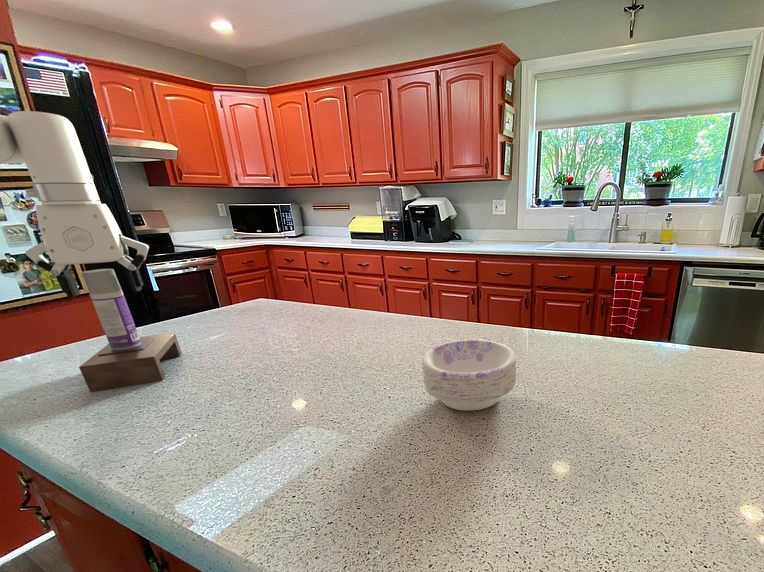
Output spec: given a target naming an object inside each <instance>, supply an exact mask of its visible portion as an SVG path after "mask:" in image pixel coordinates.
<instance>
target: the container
mask: <svg viewBox="0 0 764 572" xmlns="http://www.w3.org/2000/svg"><path fill="white" fill-rule="evenodd" d="M81 275H82V277H83V280H84V282H85V283H84V284H85V285H86V288H87V292H88V294H89V296H90V299H91V302H92V305H93V307H94V310H95V312H96V314H97V316H98V317H97V318H98V319H99V321H100V324H101V327H102V329H103V332H104V334H105V336H106V339H107V342H108V344H110V347H111V349H112V350H125V349H130V348H134V347H137V346H139V345H141V341H140V338H139V337H140V335H139V332H138V330H137V327H136V324H135V321H134V319H133V316H132V314H131V311H130V308H129V306H128V302H127V300H126V297H125V295H124V292H123V289H122V287H121V284H120V282H119V280H118V277H117V275H116V272H115V269H114V268H100V269H99V268H97V269H90V270H84V271H82V272H81Z"/></svg>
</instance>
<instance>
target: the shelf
mask: <svg viewBox="0 0 764 572" xmlns="http://www.w3.org/2000/svg"><path fill="white" fill-rule="evenodd" d="M139 338H140V341H141V345H139V346H137V347H134V348H130V349H125V350H112V349H111V347H110V344H109V343H107V345H105V346H104V347H103V348H101V349H100V350H99V351H98V352H96V353H95V354H94V355H92V356H91V357H90V358H89V359H87V360H86V361H84V362H83V363H82V364H80V366H78V369H79V371H80V374H81V375H82V378H83V380H84V382H85V384H86V386H87V389H88V391H89V392H90V393H93V392H98V391H99V392H100V391H105V390H111V389H118V388H125V387H130V386H136V385H143V384H149V383H156V382H161V381H164V379H165V378H166V375H165V372H164V369H163V366H162V363H161V360H165V359H171V358H178V357H181V356H182V354H183V353H182V350H181V347H180V344H179V341H178V337H177V334H176V332H170V333H161V334H153V335H147V336H146V335H145V336H139Z"/></svg>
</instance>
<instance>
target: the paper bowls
mask: <svg viewBox="0 0 764 572" xmlns="http://www.w3.org/2000/svg"><path fill="white" fill-rule="evenodd" d="M421 364H422V376H423V386H424V389H425V391H426V392H427V393H428V395H429V396H431V397H433V398H435V399H437V400H439V401H440V402H441V403H442V404H443V405H445V406H447V407H448V408H451V409H452V410H457V411H464V412H465V411H467V412H470V411H471V412H472V411H473V412H474V411H480V410H485V409H488V408H489V407H492V406H493V405H495V404H496V403H498V402H499V400H501V398H502V397H503V396H505V395H507V394H509V393H510V392H511V391H513V389H514V388H515V385H516V381H517V356H516V353H515V351H514V350H513V349H512V348H511V347H509V346H507V345H505V344H503V343H500V342H498V341H497V342H496V341H492V340H485V339H460V340H453V341H448V342H443V343H441V344H438V345H435V346H433V347H431V348H429V349H428V350H427V351H426V352H425V353H424V354H423V356H422V359H421Z"/></svg>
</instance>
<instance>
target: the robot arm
mask: <svg viewBox="0 0 764 572" xmlns="http://www.w3.org/2000/svg"><path fill="white" fill-rule="evenodd" d="M14 164H25V166H26V168H27V171H28V173H29V176H30V178H31V180H32V183H33V184H32V187H31V188H25V194H26V195H27V197H29V198H35V199H38V202H41V204H35V212H36V218H37V222H38V228H39V231H40V234H41V238H42V241H41V242H39V243H38V244H35V245H34V246H32V247H31V248H28V249H27V250H25V252H24V254H25V255H26V256H27V257H28V258H29V259H30V260H31V261H33V262H34V263H35V264H36V265H37V266H38V267H39V268H40V269H43V270H45V271H46V272H48V273H50V274H51V275H52V276H53V277H56V279H57V282H58V285H59V286H60V289H61V291H62V292H63V294H66V297H67V298H69V299H71V298H74V297H77V296H79V295H80V294H81V292H80V289H79V287H78V285H77V282H76V279H75V277H74V275H73V274H72V272H69V269H70V267H71V266H72V265H82V264H100V263H111V262H112V263H113V262H117V263H119V264H120V265H122V266H123V267H124V268H126V271H125V275H126V278H127V280H128V284H129V286H130V289H131V291H132V292H133V293H137V292H140V291H141V290H142V289H143V287H144V281H143V279H142V275H141V273H140V268H141V266H142V265H143V263H144V262H145V261H146V260H147V256H148V252H149V249H150V246H149V245H148V244H146V243H143V242H140V241H138V240H135V239H132V238H130V237H126V236H124V235H123V233H122V231H121V229H120V227H119V225H118V223H117V221H116V219H115V217H114V215H113V213H112V212H111V210H110V208H109V207H108V206H107V204H106V203H102V202H101V199H100V195H99V194H98V191H97V188H96V185H95V183H94V180H93V177H92V174H91V171H90V168H89V165H88V162H87V159H86V156H85V155H84V152H83V148H82V146H81V143H80V140H79V137H78V135H77V131H76V128H75V127H74V125H73V123H72V122H71V121H70V120H69V119H68V118H66V116H65V117H64V116H63V115H60V114H55V113H51V112H43V111H31V110H18V111H13V112H11V113H10V114H9V115H3V114H0V165H14ZM128 247H130V248H133V249H135V250H136V251H137V252H136V255H135V257H134V258H132V257H131V256H129V254H130V253H129V248H128ZM46 252H47V255H48V257H49V259H50V260H48V259H46V257H45V256H44V255H43V254H44V253H46Z"/></svg>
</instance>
